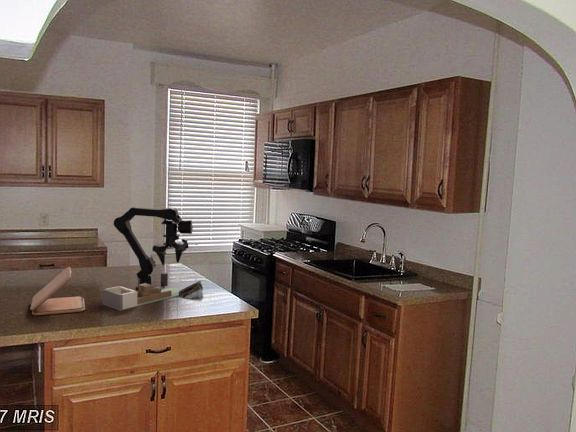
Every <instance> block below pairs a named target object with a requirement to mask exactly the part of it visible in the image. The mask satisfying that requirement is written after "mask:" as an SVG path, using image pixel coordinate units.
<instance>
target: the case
mask: <svg viewBox="0 0 576 432" xmlns="http://www.w3.org/2000/svg"><path fill="white" fill-rule="evenodd" d="M72 275H73V271H72V269H71V267H70V266H68V267H66V268H64V270H62V271H61V272H60V273H59V274H57V275H56V276H55V277H54V278H53V279H52V280H51V281H50V282H49V283H47V284H46V285H45V286H44V287H43V288H42V289H40V290H39V291H38V292H37V293H36V294H35V295H34V296H33V297H32V298H31V299H32V300H31V304H30V307H29V308H30V310H31V311H32V312H31V313H32V315H33V316H45V315H46V316H47V315H55V314H56V315H58V314H69V313H70V314H72V313H82V312H84V311H85V310H86V305H85V304H86V303H85V298H84V297H82V296H77V295H76V296H65V297H63V296H61V297H53V298H51V297H52V296H53V295H54V294H55V293H57V292H59V290H60V289H61V288H63V287H64V286H65V285H66V284H68V283H69V282H70V280H71V278H72Z"/></svg>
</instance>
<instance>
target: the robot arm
mask: <svg viewBox="0 0 576 432" xmlns="http://www.w3.org/2000/svg"><path fill="white" fill-rule="evenodd" d="M135 216H140V217H142V216H143V217H154V218H161V219H163V221H162V222H161V225H165V227H164V228H165V229H164V230H165V232H164V234H163V238H164V240H165V241H164V242H163V243H162V244H155V245H153V246H152V252H154V253H156V255H157V256H158V258H159V261H160V263H161V265H162V266H165V263H166V261H165V260H166V254H167V252H166V251H167V250H171V249H174V252H175V260H176V263H178V264H179V262H180V260H181V257H182V255H183V253H184V252H185V251H187V249H189V244H188V243H189V242H188V239H186V238H183V239H180V236H179V235H178V233H180V234H182V235H186V234H187V235H188V234H189V235H193V230H194V228H193V220H192V219H189V220H188V219H187V220H184V219H183V218H181V216H180V214H179V211H178V209H177V208H176V207H166V208H149V207H148V208H147V207H137V206H132V207H130V208H129V210H127V211H126V212H124V213H123V214H122V215H120V216H118V217H116V218H114V221H113V227H114V228H116V230H117V231H118V232H119V233H120V234H122V235H123V237H124V238H125V240H126V241H127V243H128V245H129V247H130V248H131V249H132V251H133V253H134V255H135V256H136V258H137V260H138V264H139V268H140V270H139V271H138V272H137V273H136V276H137V286H134V287H135V289H138V290H139V285H140V284H145V283H147V284H150V285H152V276H151V274H153V272H154V271H155V270H156V268H157V265H156V261H155V260H154V257H153V256H152V255H151V256H149V255H147V253H146V252H145V251H144V248H143V247H142V245H141V244H140V242H139V240H138V239H137V237H136V236H135V234H134V232H133V230H132V224H131V222H130V221H132V219H134V217H135ZM152 288H154V286H152Z"/></svg>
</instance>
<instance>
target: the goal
mask: <svg viewBox="0 0 576 432" xmlns="http://www.w3.org/2000/svg"><path fill="white" fill-rule="evenodd" d="M122 291H126V292H125V293H122ZM137 292H138V290H135V289H132V288H131V289H130V288H127V287H124V286H121V285H117V286H113V287H108V288H104V289H103V288H102V292H101V294H102V297H101V299H102V305H103V304H105V305H104V306H106V305H108V306H110V307H109V308H111V307H113V308H112V309H114V308H116V309H115V310H117V309H119V310H118V311H120V310H121V311H123V310H122V309H125V310H127V309H126V308H129V309H131V308H130V307H133V308H135V307H134V306H137ZM108 306H107V307H108ZM137 307H138V306H137Z"/></svg>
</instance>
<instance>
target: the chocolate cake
mask: <svg viewBox="0 0 576 432" xmlns="http://www.w3.org/2000/svg"><path fill="white" fill-rule="evenodd" d="M203 289H204V287H203V284H202V281H201V280H198V281H197V282H194V283H192V284H190V285H188V286H186V287H184V288H182V289H180V291H179V292H178V294H179V295H180V296H179V297H182V298H183V299H192V300H193V299H195V298H196V299H197V298H199V299H202V298H204V293H203Z"/></svg>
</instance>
